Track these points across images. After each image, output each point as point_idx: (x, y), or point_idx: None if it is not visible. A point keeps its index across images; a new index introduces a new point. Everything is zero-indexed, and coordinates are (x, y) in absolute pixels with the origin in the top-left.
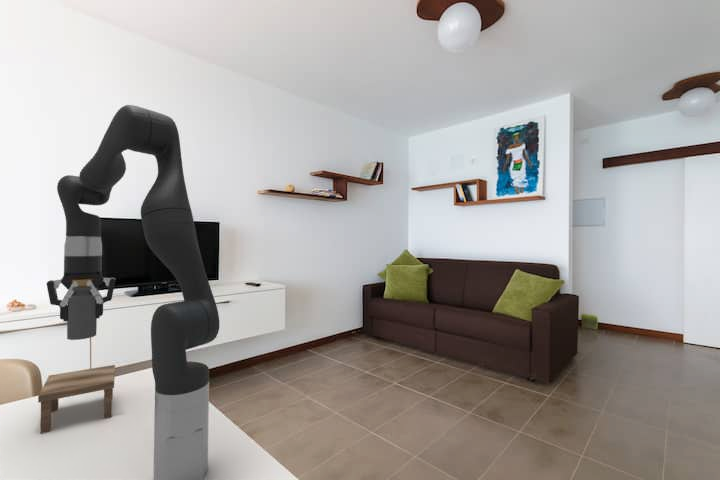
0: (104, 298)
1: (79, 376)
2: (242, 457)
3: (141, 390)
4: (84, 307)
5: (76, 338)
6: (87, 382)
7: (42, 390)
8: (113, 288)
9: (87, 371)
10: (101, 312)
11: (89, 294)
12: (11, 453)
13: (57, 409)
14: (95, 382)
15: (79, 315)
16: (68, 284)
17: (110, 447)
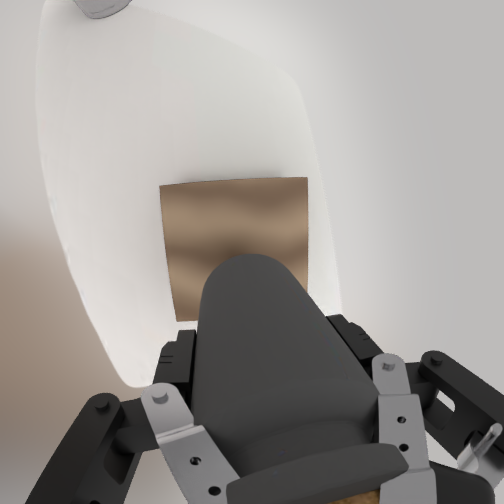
0: (134, 420)
1: None
2: (54, 14)
3: (140, 292)
4: (257, 329)
5: (264, 255)
6: (219, 211)
7: (305, 208)
8: (49, 463)
9: None
10: (167, 352)
11: (238, 440)
12: (306, 133)
13: None
14: (200, 202)
15: (276, 298)
16: (441, 485)
17: (174, 74)
